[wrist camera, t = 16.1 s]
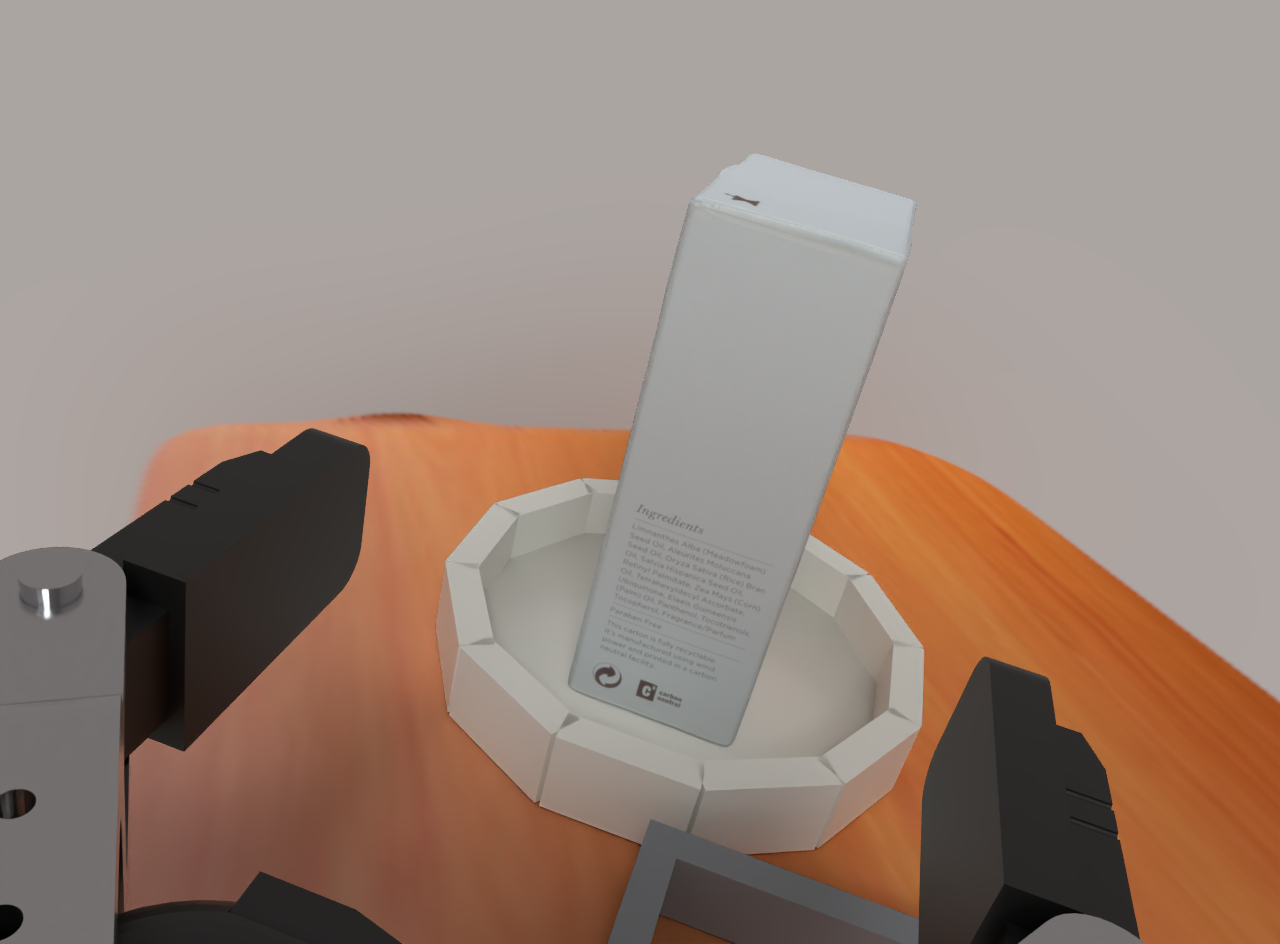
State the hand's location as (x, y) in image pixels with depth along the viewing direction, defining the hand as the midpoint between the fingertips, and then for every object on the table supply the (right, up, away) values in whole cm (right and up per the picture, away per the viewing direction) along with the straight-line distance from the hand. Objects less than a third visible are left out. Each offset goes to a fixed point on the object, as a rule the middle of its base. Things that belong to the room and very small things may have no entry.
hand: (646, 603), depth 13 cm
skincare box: (+1, -3, +14) cm, 14 cm away
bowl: (+1, -3, +14) cm, 14 cm away
